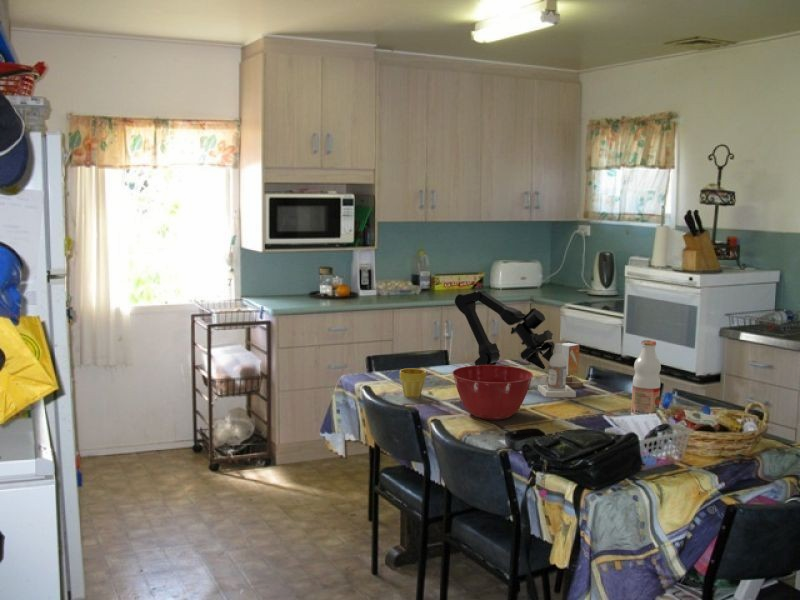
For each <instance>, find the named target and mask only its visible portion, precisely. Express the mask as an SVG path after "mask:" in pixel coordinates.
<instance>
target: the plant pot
mask: <svg viewBox="0 0 800 600" xmlns="http://www.w3.org/2000/svg"><path fill="white" fill-rule="evenodd" d="M399 380H400V381H401V387H402V393H403V396H404V397H406V398H414V399H415V398H419V397H421V395H422V393H423V392H422V391H423V387H424V384H425V381H426V380H427V371H426V370H425V369H423V368H422V369H421V368H409V367H408V368H402V369H400V370H399Z"/></svg>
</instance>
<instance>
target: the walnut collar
mask: <svg viewBox="0 0 800 600" xmlns="http://www.w3.org/2000/svg"><path fill="white" fill-rule="evenodd" d="M546 382H547V383H548V376H546ZM566 385H567V386H569V387H570V388H571V389H574V388H576V389H577V388H580V389H581V388H584V383H583V382H582V381H581V380H579V379H578V378H576V377H575V376H570V375H566Z"/></svg>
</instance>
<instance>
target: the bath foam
mask: <svg viewBox="0 0 800 600" xmlns="http://www.w3.org/2000/svg"><path fill="white" fill-rule="evenodd" d="M554 344H555V346H554V349H553V355H552V357H551V358H550V360H549V361H548V370H547V371H548V372H547V377H548V382H547V385H548V391H565V385H566V376H567V375H566V360H565V358H564V356H563V354H562V344H563V343H558V342H557V343H556V342H555V343H554Z"/></svg>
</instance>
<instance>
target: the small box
mask: <svg viewBox="0 0 800 600" xmlns="http://www.w3.org/2000/svg"><path fill="white" fill-rule="evenodd" d="M561 344H562V354H563V356H564V358H565V360H566V376H570V375H574V374H578V373H579V365H580V364H579V362H580V359H579V357H580V344H579V343H573V342H564V343H561Z"/></svg>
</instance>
